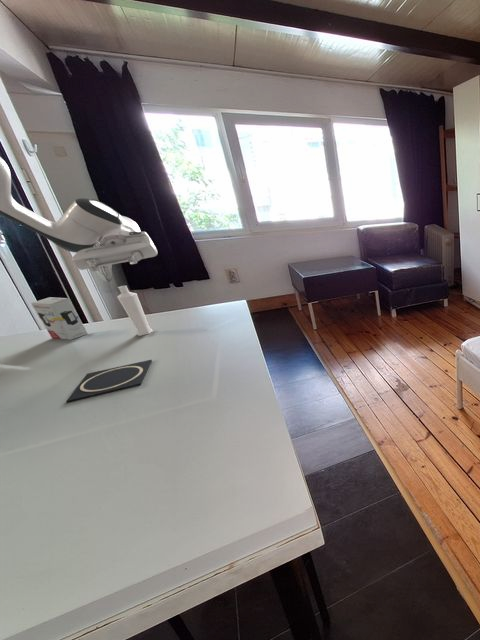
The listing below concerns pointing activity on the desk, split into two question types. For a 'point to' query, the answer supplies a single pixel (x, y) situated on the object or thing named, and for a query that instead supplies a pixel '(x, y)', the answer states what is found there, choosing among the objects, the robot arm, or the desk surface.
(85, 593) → the desk surface
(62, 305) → the ink box
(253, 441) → the desk surface
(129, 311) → the perfume bottle
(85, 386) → the circle mat
